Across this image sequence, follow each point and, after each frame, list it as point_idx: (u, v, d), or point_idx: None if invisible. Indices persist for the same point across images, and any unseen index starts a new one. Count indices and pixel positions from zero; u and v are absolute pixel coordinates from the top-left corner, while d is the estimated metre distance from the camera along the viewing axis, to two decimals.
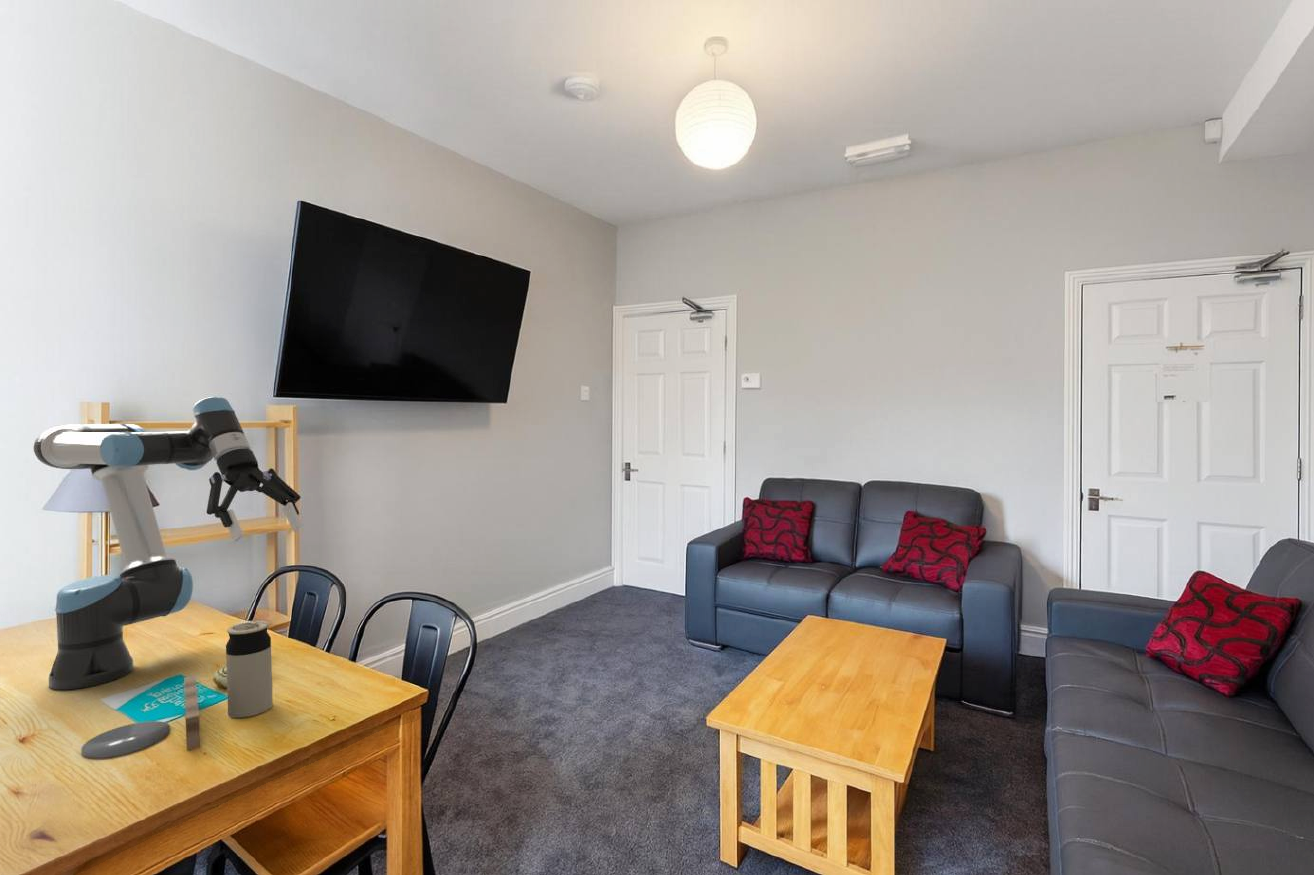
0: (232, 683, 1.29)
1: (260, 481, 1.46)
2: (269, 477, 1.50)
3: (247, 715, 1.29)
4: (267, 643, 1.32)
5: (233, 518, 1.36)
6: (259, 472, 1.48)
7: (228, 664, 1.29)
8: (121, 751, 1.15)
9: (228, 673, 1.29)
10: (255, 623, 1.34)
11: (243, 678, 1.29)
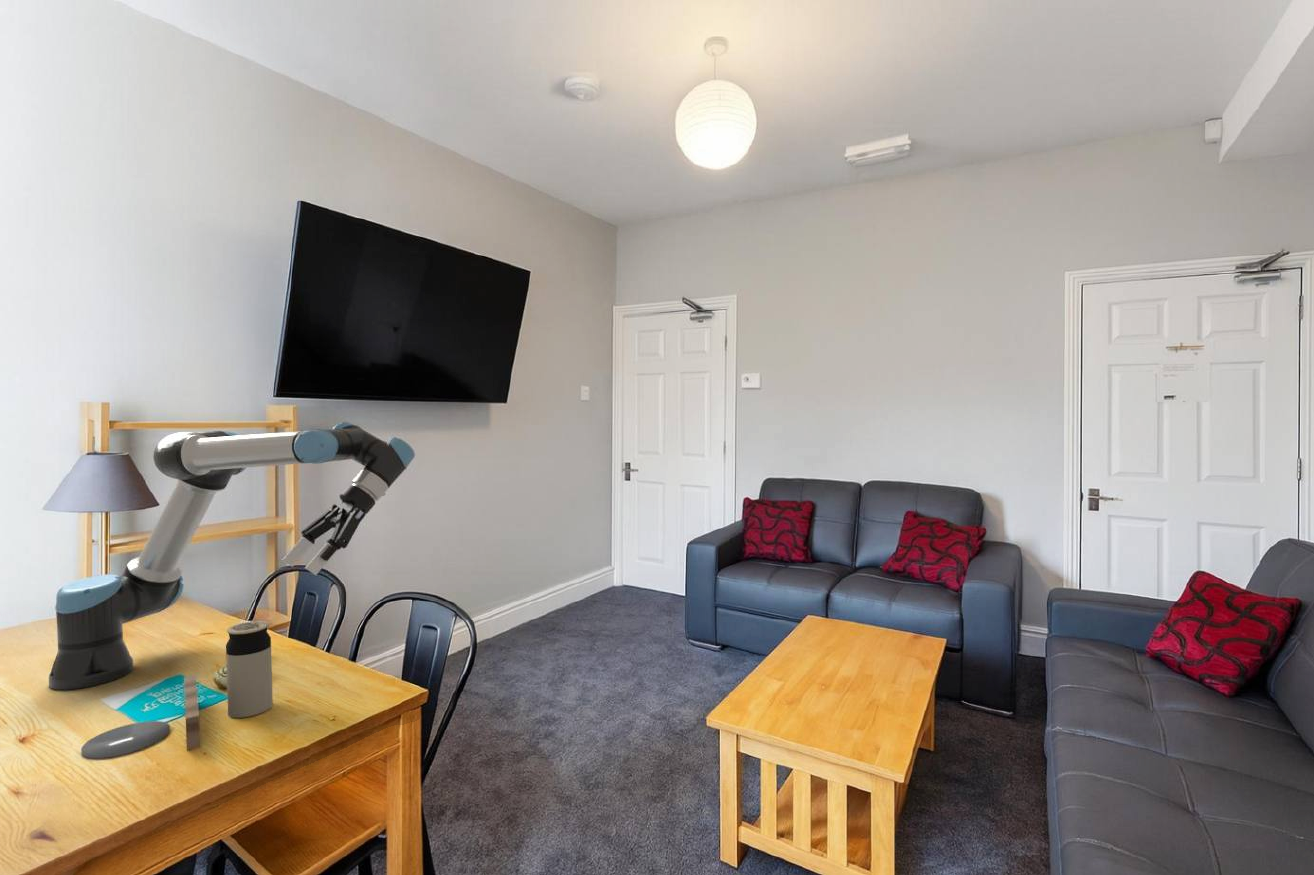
0: (232, 683, 1.29)
1: None
2: None
3: (247, 715, 1.29)
4: (267, 643, 1.32)
5: (329, 558, 1.38)
6: None
7: (228, 664, 1.29)
8: (121, 751, 1.15)
9: (228, 673, 1.29)
10: (255, 623, 1.34)
11: (243, 678, 1.29)
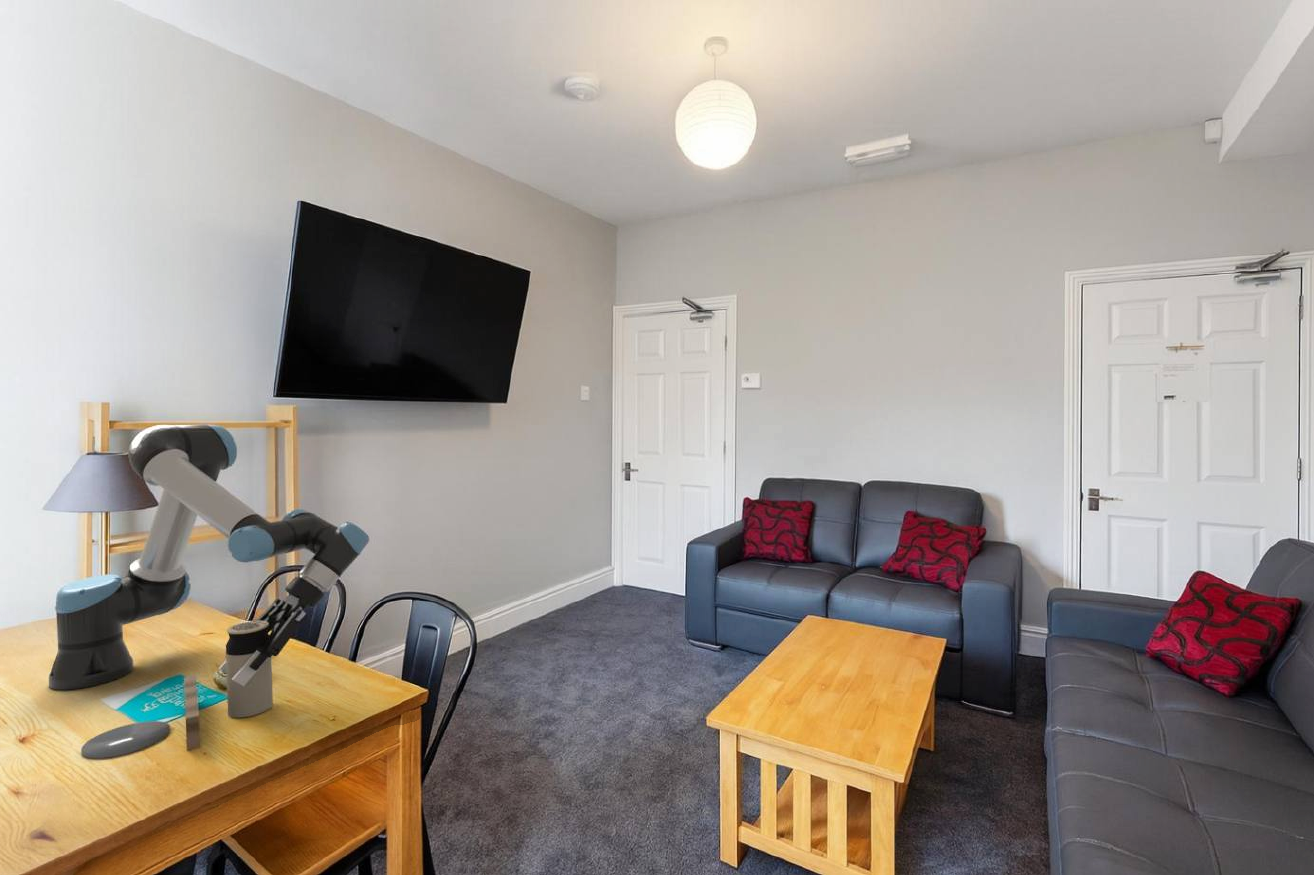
0: (232, 683, 1.29)
1: None
2: None
3: (247, 715, 1.29)
4: None
5: None
6: None
7: (228, 664, 1.29)
8: (121, 751, 1.15)
9: (228, 673, 1.29)
10: (255, 623, 1.34)
11: None
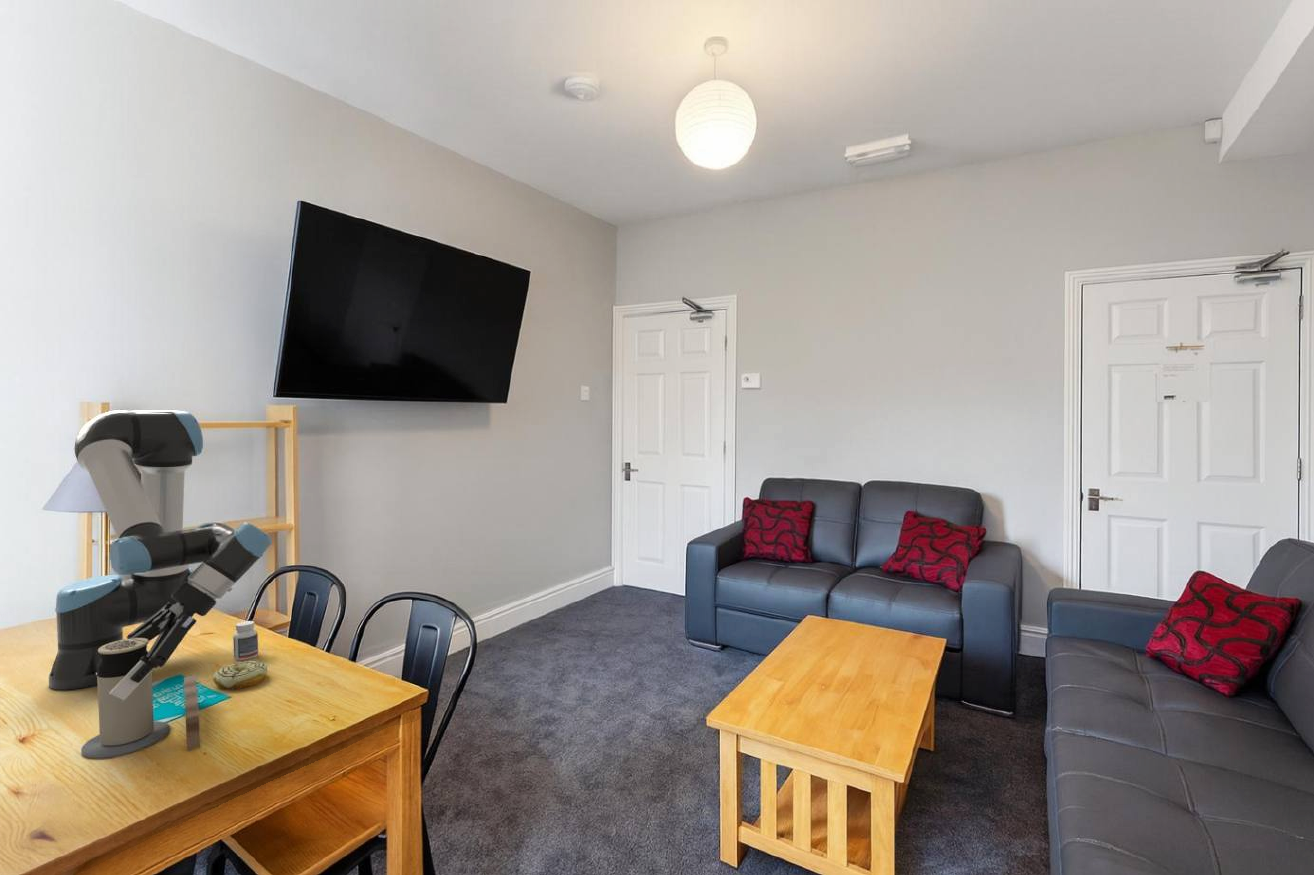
0: (102, 708, 1.17)
1: None
2: None
3: (120, 743, 1.17)
4: None
5: (144, 678, 1.17)
6: None
7: (98, 687, 1.17)
8: (121, 751, 1.15)
9: (99, 697, 1.17)
10: (133, 641, 1.22)
11: (115, 702, 1.17)
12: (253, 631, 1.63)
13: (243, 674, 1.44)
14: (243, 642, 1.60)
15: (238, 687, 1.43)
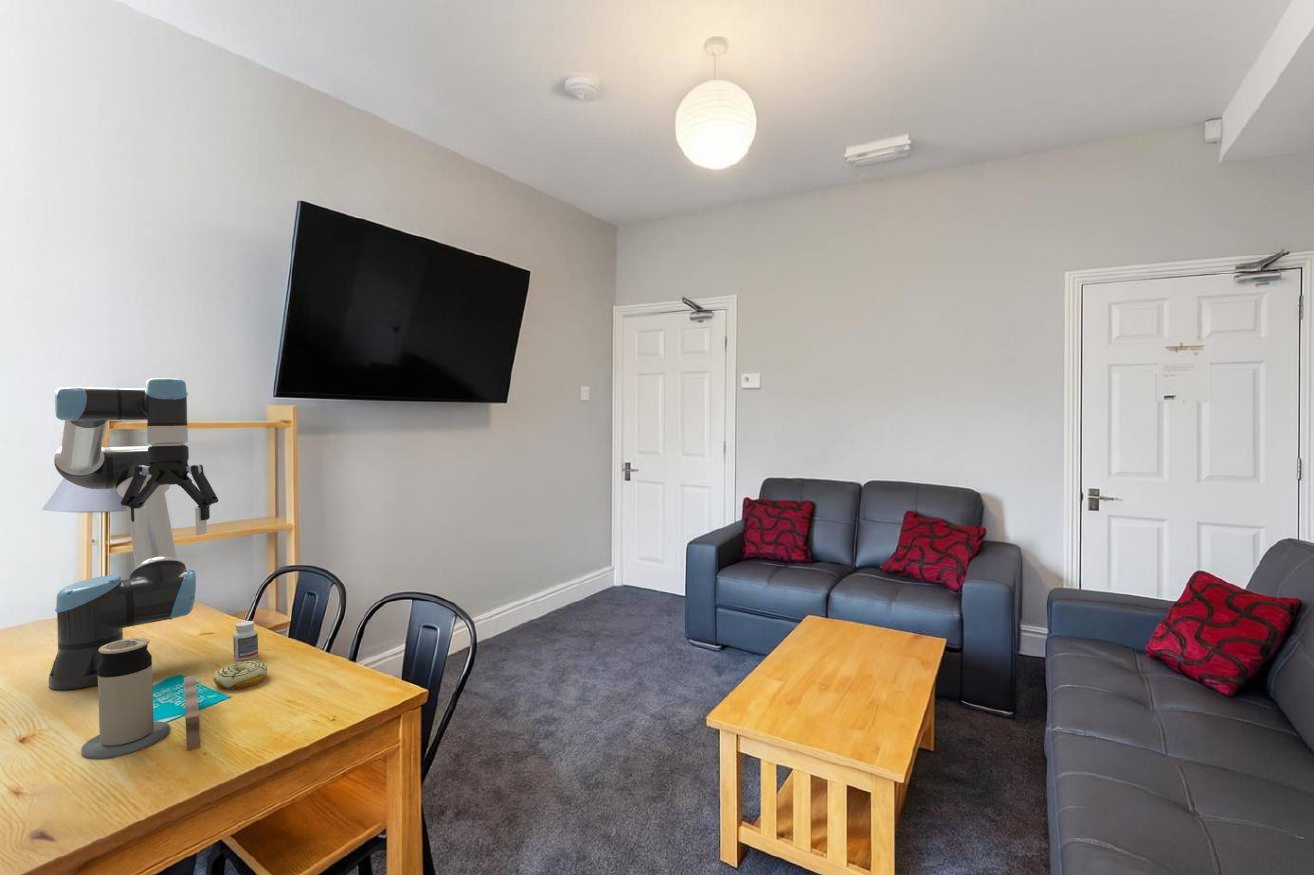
0: (103, 708, 1.17)
1: None
2: None
3: (120, 743, 1.17)
4: (146, 663, 1.20)
5: None
6: None
7: (99, 686, 1.17)
8: (121, 751, 1.15)
9: (99, 696, 1.17)
10: (134, 641, 1.22)
11: (115, 702, 1.17)
12: (253, 631, 1.63)
13: (243, 674, 1.44)
14: (243, 642, 1.60)
15: (238, 687, 1.43)
